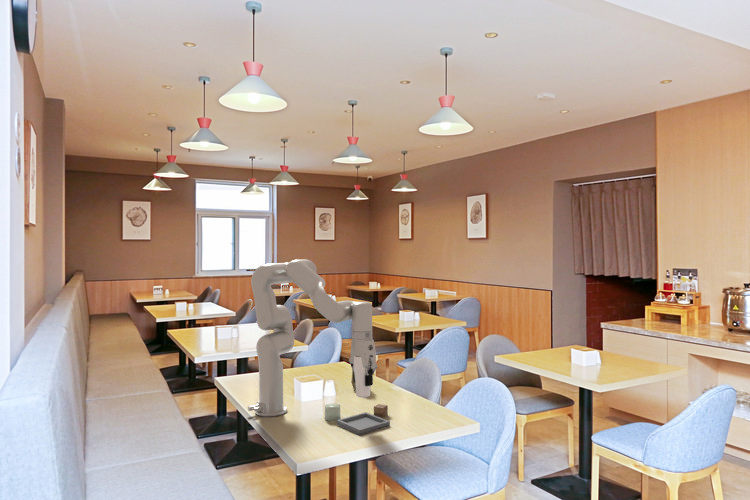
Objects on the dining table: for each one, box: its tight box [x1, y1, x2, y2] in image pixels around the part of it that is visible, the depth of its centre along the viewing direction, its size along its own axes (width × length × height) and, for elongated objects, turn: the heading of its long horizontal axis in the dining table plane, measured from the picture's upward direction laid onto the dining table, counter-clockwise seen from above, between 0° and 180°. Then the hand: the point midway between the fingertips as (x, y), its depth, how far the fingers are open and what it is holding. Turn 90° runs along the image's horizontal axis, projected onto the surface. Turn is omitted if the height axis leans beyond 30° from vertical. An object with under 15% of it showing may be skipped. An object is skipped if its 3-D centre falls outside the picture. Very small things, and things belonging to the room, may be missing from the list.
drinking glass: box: [354, 356, 372, 398], centre depth 186 cm, size 7×7×15 cm
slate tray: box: [336, 412, 391, 436], centre depth 186 cm, size 14×14×2 cm
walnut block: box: [373, 403, 389, 419], centre depth 197 cm, size 4×4×4 cm
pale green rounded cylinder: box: [324, 403, 341, 422], centre depth 194 cm, size 6×6×5 cm
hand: (362, 383), depth 186 cm, fingers closed on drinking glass, 6 cm apart
